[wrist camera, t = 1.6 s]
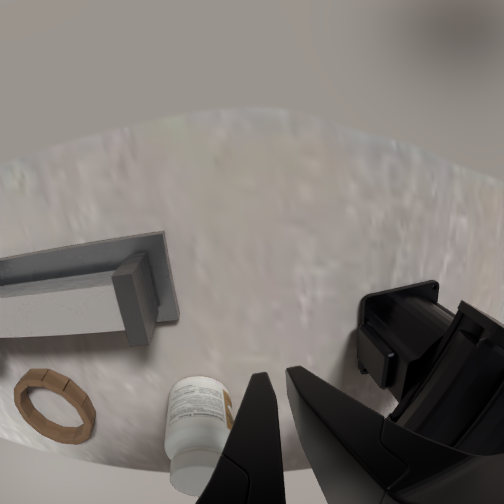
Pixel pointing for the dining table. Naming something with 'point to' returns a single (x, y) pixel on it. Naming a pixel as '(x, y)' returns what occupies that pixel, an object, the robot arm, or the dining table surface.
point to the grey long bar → (84, 304)
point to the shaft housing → (98, 265)
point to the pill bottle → (196, 431)
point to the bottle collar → (66, 390)
